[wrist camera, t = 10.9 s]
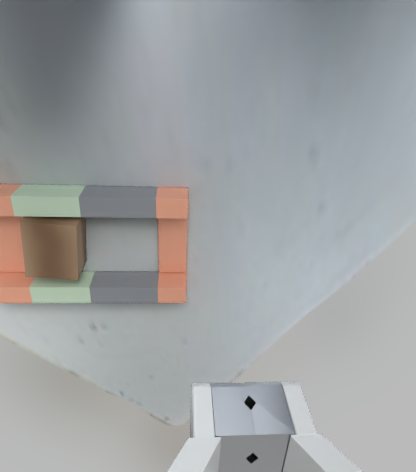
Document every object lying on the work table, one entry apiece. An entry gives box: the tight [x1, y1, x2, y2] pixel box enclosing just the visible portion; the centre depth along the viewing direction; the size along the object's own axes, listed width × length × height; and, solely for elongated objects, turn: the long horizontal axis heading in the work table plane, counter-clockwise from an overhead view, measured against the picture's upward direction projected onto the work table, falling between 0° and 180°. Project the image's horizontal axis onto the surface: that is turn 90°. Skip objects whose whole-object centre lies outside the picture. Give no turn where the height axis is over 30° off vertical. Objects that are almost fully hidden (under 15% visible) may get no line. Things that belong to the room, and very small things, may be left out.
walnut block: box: [20, 216, 86, 280], centre depth 39 cm, size 5×6×4 cm
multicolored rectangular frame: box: [0, 184, 188, 303], centre depth 40 cm, size 20×12×3 cm, turn 87°
